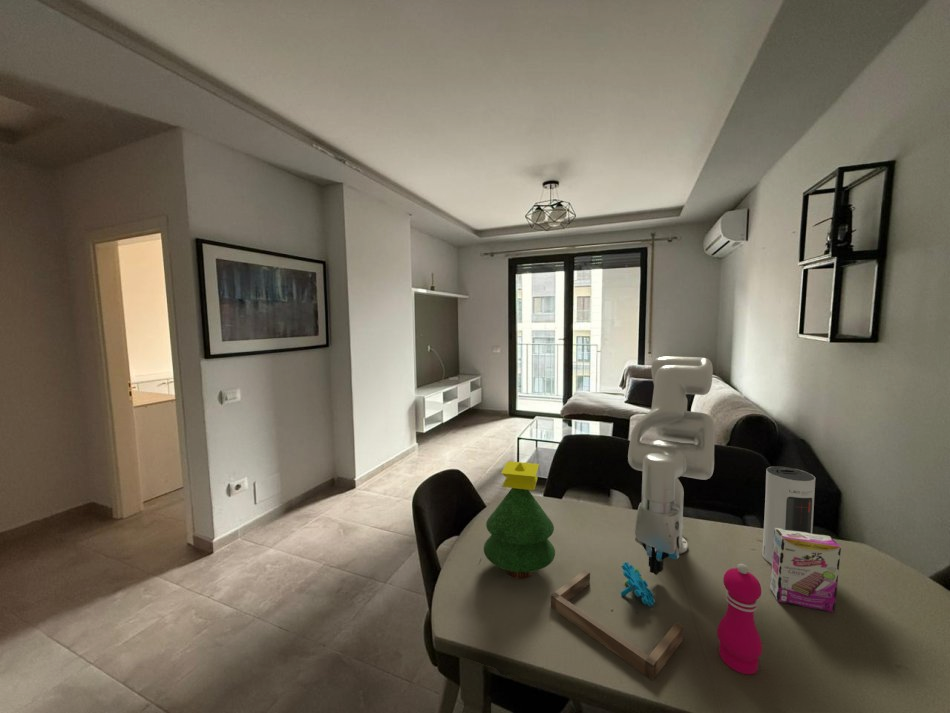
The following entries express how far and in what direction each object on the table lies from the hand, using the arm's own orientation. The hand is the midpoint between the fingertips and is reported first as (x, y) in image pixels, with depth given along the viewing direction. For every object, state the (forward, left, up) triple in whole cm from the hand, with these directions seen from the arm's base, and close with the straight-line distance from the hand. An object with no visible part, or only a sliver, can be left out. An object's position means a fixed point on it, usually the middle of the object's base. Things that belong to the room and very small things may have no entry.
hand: (655, 571), depth 96 cm
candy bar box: (-19, +26, -3) cm, 33 cm away
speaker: (-35, +20, -3) cm, 41 cm away
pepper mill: (+11, +21, -3) cm, 24 cm away
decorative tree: (+24, -26, -3) cm, 35 cm away
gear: (+9, 0, -3) cm, 9 cm away
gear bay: (+21, 0, -3) cm, 21 cm away
